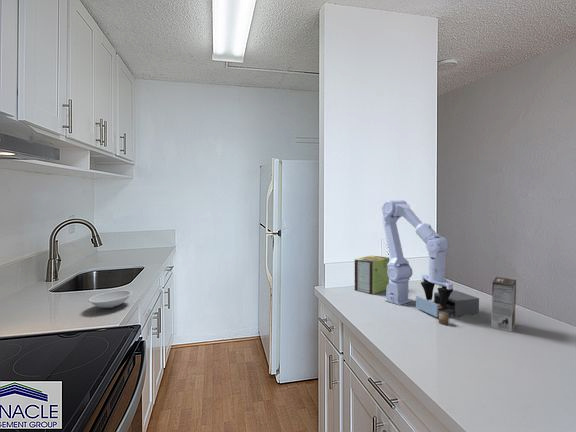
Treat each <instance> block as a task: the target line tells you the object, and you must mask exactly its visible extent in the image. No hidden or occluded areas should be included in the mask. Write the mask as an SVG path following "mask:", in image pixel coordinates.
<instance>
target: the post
mask: <svg viewBox="0 0 576 432" xmlns="http://www.w3.org/2000/svg"><path fill="white" fill-rule="evenodd" d="M449 317H450V314H449V313H446V312H439V315H438V324H440V325H443V326H447V325H449V322H450V321H449V320H450V318H449Z"/></svg>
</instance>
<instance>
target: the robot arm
mask: <svg viewBox="0 0 576 432" xmlns="http://www.w3.org/2000/svg"><path fill="white" fill-rule="evenodd" d="M381 211H382V224H383V228H384V233H385V238H386V243H387V247H388V253H389V263H388V264H387V266H388V271H387V274H388V277H389V284H388V285H387V287H386V290H385V295H386V296H385V297H386V298H385V299H384V301H386V302H388V303H392V304H394V305H400V306H402V305H404V304H408V303H410V302H413V299H411V298H409V281H410V278H411V277H412V276H413V269H412V267H411V266H410V262H409V260H408V259H406V258H405V257H404V252H403V247H402V243H401V239H400V235H399V230H398V226H397V223H398V220H399V219H401V217H403V218H404V219H405V220H406V221H407V222H408V223H409V224H410V225H411V226H412V227H414V229H415V233H416V235H417V236H418V237H419V238H420V239H421V240H422V241H423V242H424V243H425V248H426V250H427V252H428V257H429V258H428V275H427V274H425V275H421V282H420V285H421V287H422V289H423V291H424V294H425V299H426V300H428V301H432V300H433V297H434V288H435V285H437V286H439V287H437V292H439V296H440V306H446V304H447V301H448V298H449V296H450V294H451V293H452V292H453V291H454V287H453V286H454V284H453V283H451V282H449V281H448V280H447V279H446V278H445V277H446V252H447V250H448V249H449V247H450V243H449V241H448V239H447V237H444V236H441V235H440V234H439V233H437V232H436V231H435V229H433V228H432V225H431V224H428V223H423V221H422V220H421V219H420V218H419V217H418V216H417V215H416V213H415V212H414V211H413V210H412V209H411V205H410V204H409V203H408V202H407V201H406V200H404V199H399V200H395V199H394V200H389V199H388V200H385V201H384V203H383V204H382V206H381Z"/></svg>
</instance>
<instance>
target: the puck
mask: <svg viewBox="0 0 576 432" xmlns="http://www.w3.org/2000/svg"><path fill="white" fill-rule="evenodd" d="M432 302H433V303H435V304H438V305H439V307H438V310H443V309H444V306H440V302H434V301H432Z"/></svg>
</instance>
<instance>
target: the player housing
mask: <svg viewBox="0 0 576 432" xmlns="http://www.w3.org/2000/svg"><path fill="white" fill-rule="evenodd" d="M439 301H440V296H439V292H438V291H436V292H433V302H439ZM447 304H449V305H452V306H454V307H455V312H454V313H448V314H449V315H452V316H453V317H463V316H470V315H477V314H479V313H480V298H479V297H477V296H473V295H471V294H469V293H465V292H461V291H459V290H456V289H455V290H454V289H453V292H452V293H451V294H450V296H449V298H448V301H447Z"/></svg>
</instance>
